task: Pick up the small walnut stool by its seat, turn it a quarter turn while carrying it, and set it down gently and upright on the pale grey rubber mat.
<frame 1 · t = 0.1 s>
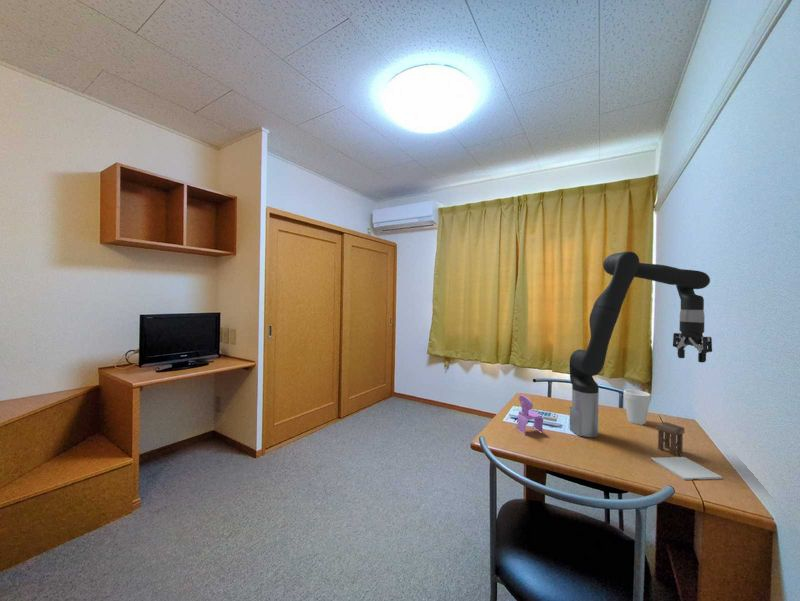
hand: (691, 360, 130), 29 cm above the table, tool pointing down, fingers open, 8 cm apart
foam cup: (636, 422, 139), on the table
toy chair: (529, 432, 129), on the table
stool: (670, 450, 113), on the table
mat: (684, 468, 101), on the table
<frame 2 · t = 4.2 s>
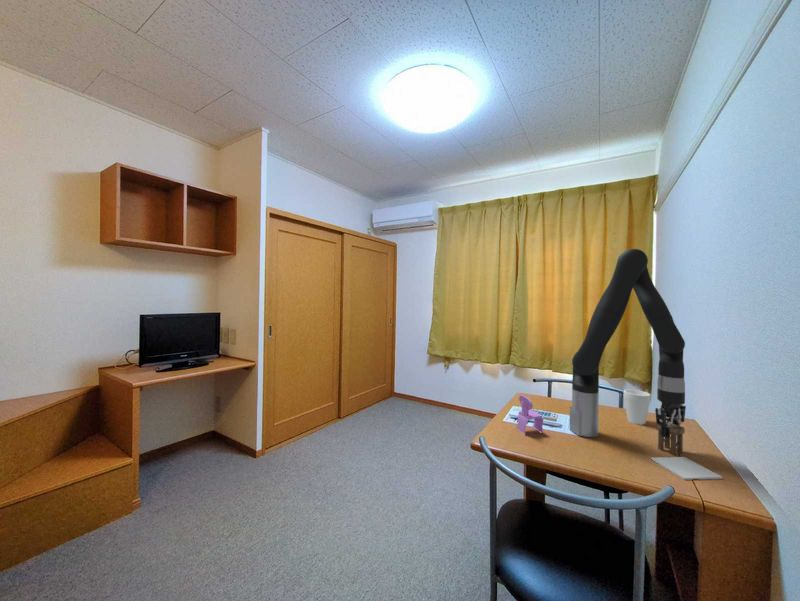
hand: (670, 435, 113), 6 cm above the table, tool pointing down, fingers closed on stool, 5 cm apart
stool: (670, 450, 113), on the table, touching gripper
everything else where it was.
when the fingers open (7 cm above the table, at t = 10.1 s): stool drops 1 cm, resting on mat.
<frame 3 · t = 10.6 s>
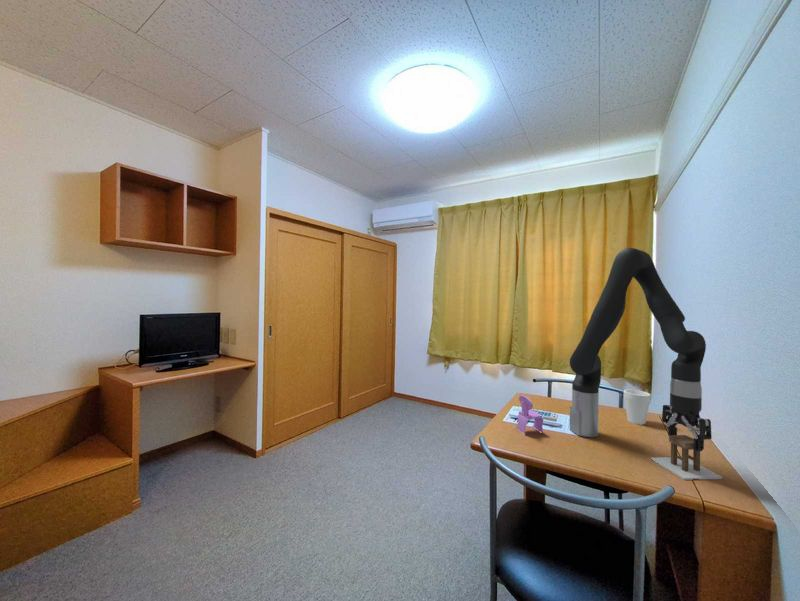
hand: (684, 444, 101), 8 cm above the table, tool pointing down, fingers open, 8 cm apart
stool: (685, 467, 101), point 1 cm above the table, touching mat
everything else where it was.
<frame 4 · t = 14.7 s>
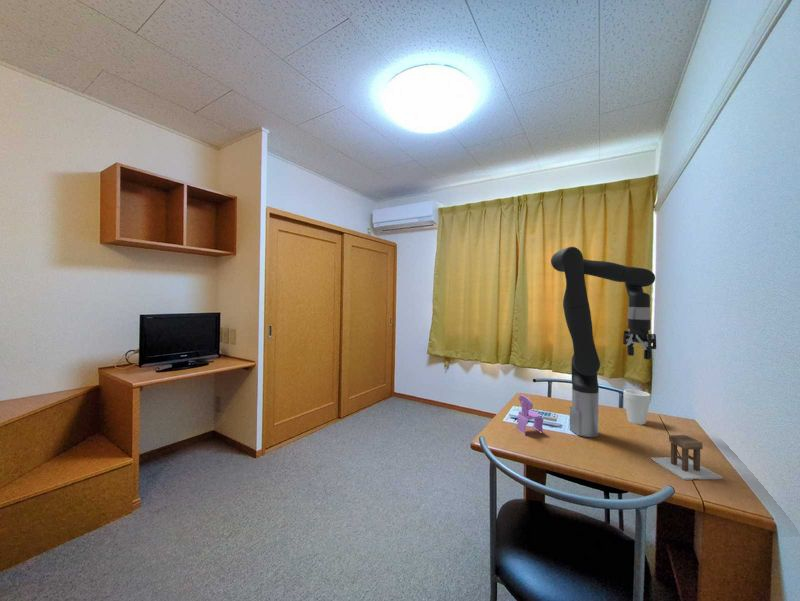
hand: (638, 357, 131), 30 cm above the table, tool pointing down, fingers open, 8 cm apart
nothing on the table moved.
at the end: stool 0.1 cm off-centre on the mat, point 0.6 cm above the mat's base; stool tilted 0°; the gripper is holding nothing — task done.
